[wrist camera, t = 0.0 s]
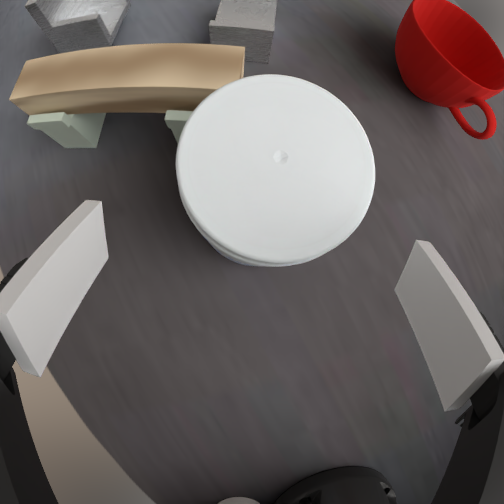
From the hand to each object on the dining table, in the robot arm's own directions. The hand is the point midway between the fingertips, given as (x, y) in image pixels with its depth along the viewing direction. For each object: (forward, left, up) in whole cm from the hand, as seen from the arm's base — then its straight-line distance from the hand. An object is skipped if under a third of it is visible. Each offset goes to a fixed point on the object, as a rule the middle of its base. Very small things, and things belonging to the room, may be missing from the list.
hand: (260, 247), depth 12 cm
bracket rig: (+24, +12, -15) cm, 31 cm away
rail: (+12, +12, -9) cm, 19 cm away
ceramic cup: (+22, -19, -16) cm, 33 cm away
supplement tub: (+4, 0, -16) cm, 16 cm away
